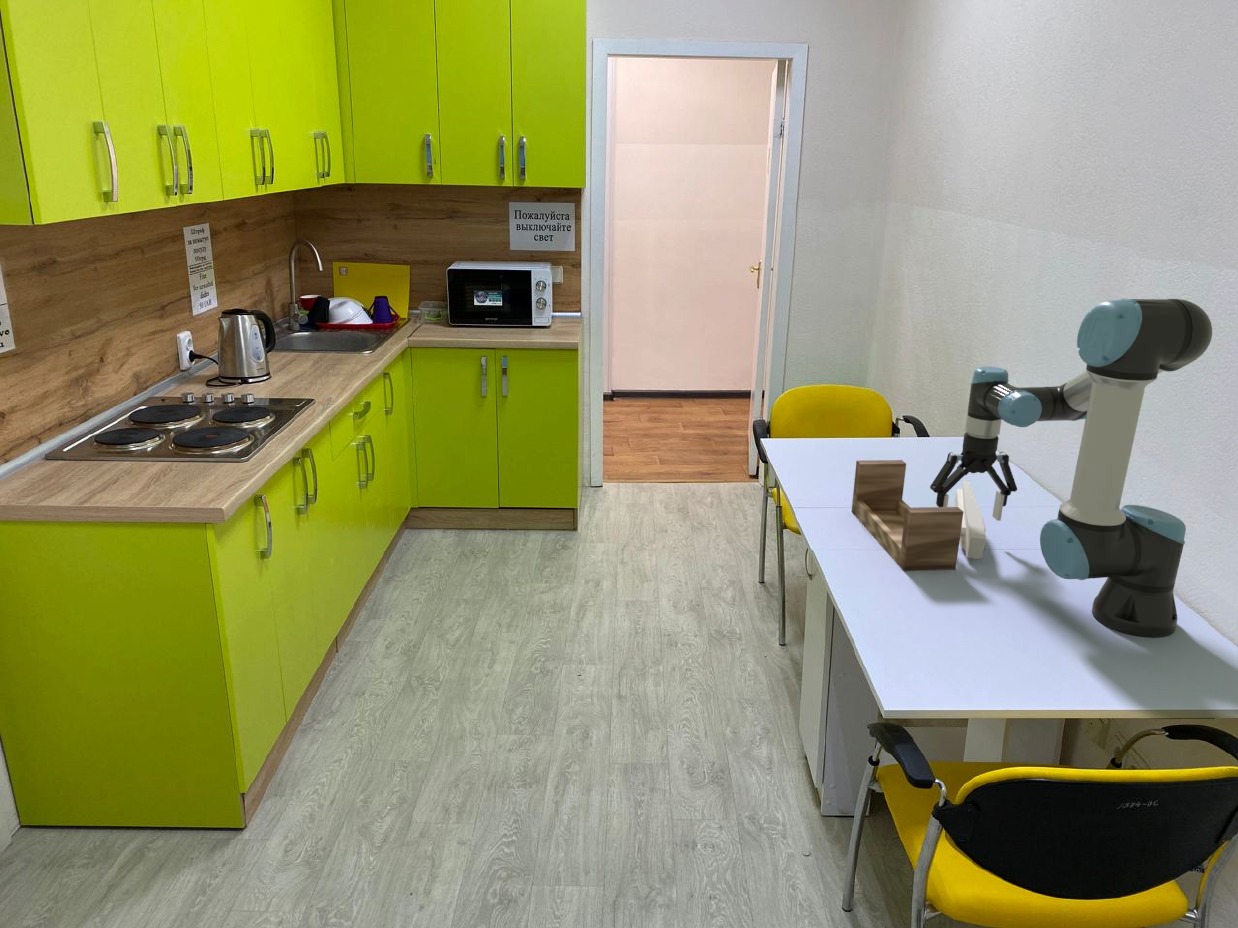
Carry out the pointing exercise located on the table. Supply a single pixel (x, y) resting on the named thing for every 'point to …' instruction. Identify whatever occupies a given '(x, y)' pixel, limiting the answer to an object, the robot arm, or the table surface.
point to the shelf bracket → (970, 522)
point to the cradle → (904, 519)
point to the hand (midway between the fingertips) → (968, 519)
